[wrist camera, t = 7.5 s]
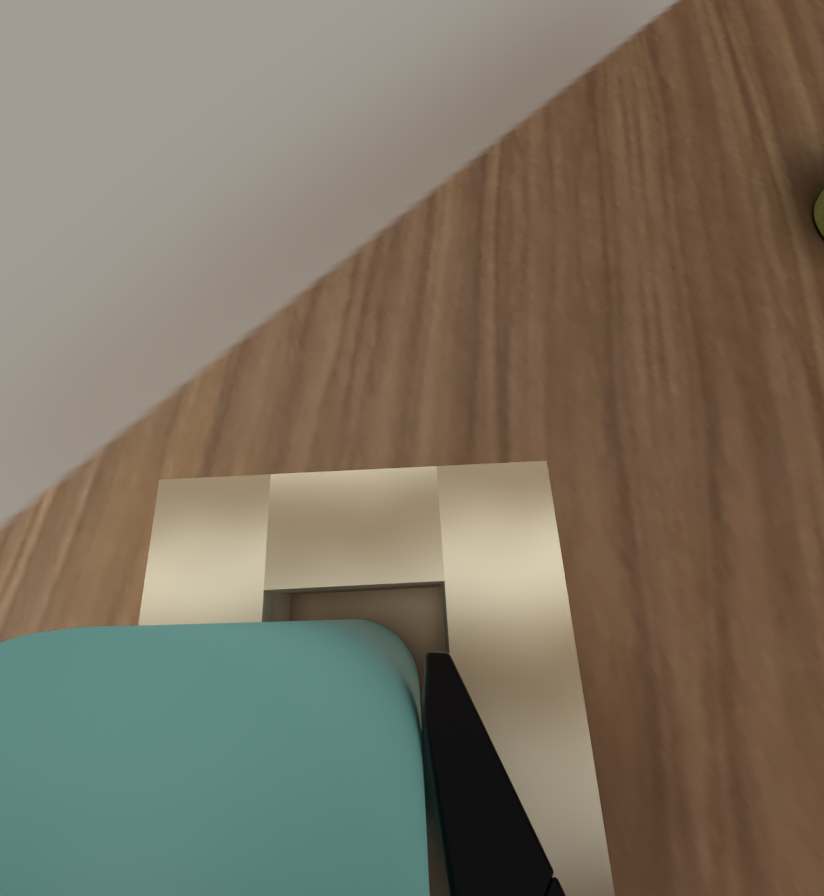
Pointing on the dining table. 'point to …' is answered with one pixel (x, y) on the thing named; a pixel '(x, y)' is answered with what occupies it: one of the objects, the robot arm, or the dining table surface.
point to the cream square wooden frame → (411, 603)
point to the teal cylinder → (212, 761)
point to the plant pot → (819, 213)
